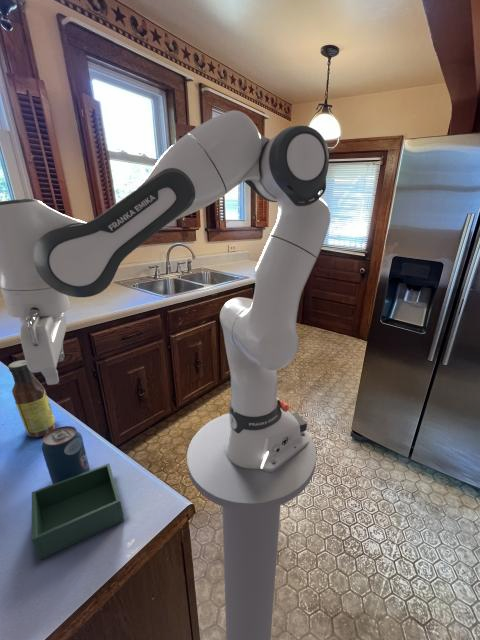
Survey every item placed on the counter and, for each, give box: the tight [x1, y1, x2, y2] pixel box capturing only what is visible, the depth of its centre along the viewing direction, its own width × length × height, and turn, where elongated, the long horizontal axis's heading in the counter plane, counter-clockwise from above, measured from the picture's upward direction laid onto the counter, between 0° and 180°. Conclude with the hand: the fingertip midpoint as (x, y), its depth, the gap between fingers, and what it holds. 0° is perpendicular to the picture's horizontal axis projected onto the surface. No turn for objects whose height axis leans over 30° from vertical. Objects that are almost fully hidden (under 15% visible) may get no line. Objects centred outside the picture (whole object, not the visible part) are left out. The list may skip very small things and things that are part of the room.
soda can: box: [41, 425, 91, 484], centre depth 66 cm, size 7×7×12 cm
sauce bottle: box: [7, 359, 57, 438], centre depth 77 cm, size 7×6×20 cm
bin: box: [31, 463, 125, 561], centre depth 59 cm, size 13×11×5 cm
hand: (56, 370), depth 59 cm, fingers open, 8 cm apart
